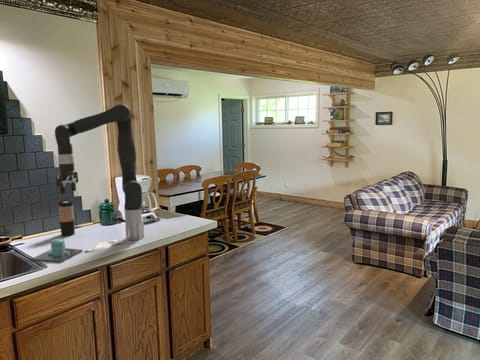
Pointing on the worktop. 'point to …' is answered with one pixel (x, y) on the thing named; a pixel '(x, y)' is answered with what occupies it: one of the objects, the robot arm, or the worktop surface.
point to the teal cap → (57, 247)
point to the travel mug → (66, 218)
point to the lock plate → (57, 259)
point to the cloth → (104, 245)
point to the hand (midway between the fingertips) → (68, 192)
